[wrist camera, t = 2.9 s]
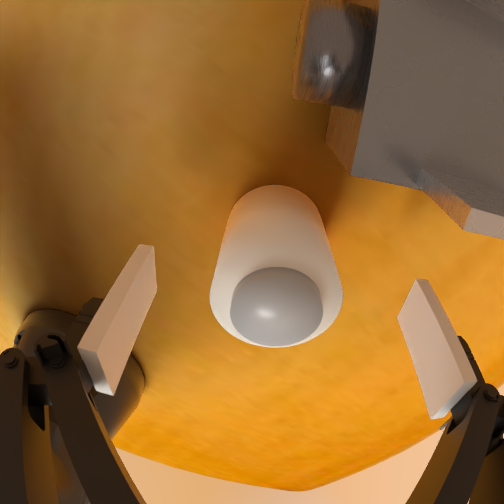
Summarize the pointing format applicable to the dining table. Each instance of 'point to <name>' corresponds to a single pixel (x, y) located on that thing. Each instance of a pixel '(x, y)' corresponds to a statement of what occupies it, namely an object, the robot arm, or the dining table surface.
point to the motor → (413, 96)
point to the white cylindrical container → (275, 270)
